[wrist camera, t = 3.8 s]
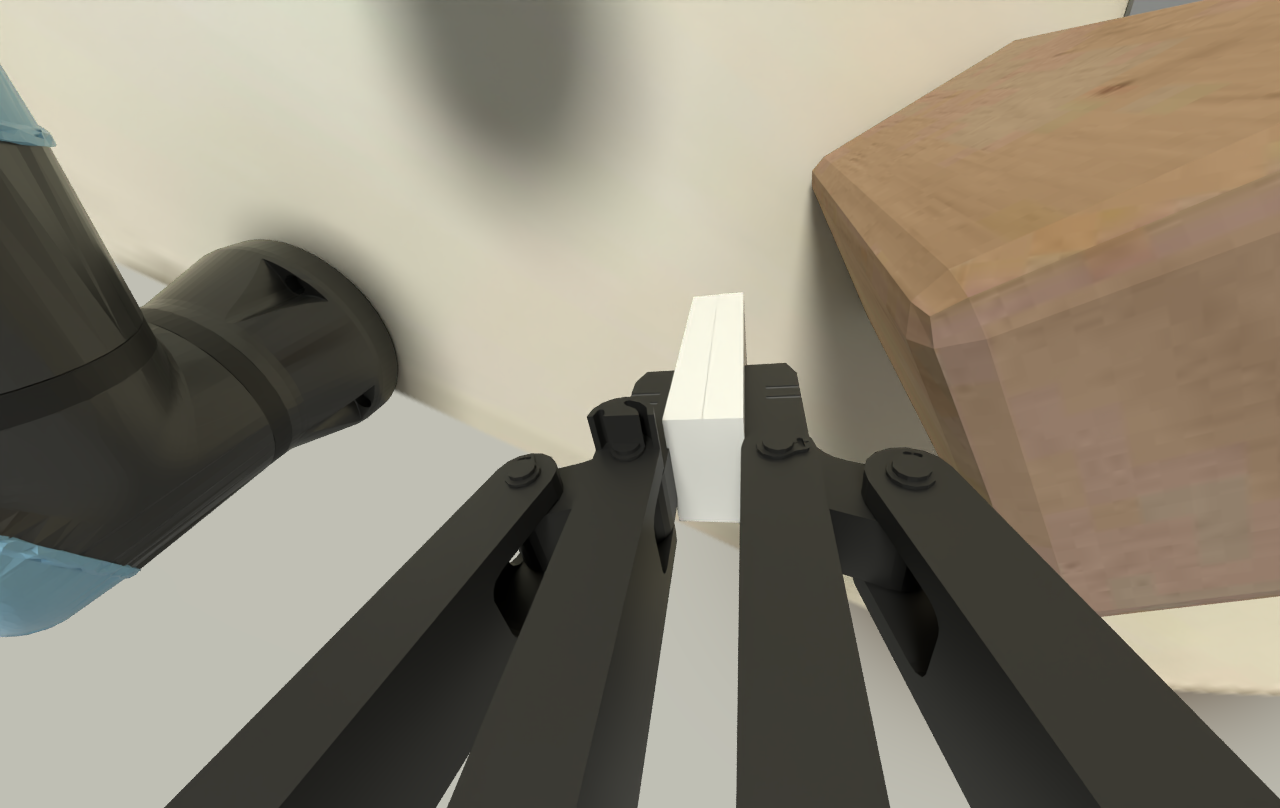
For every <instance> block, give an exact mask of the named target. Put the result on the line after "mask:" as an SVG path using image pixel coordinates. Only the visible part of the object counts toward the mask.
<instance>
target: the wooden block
mask: <svg viewBox="0 0 1280 808" xmlns="http://www.w3.org/2000/svg"><path fill="white" fill-rule="evenodd" d="M812 188H813V191H814V193H815V195H816V198H817V200H818V202H819V205H820V207H821V209H822V212H823V214H824V216H825V219H826V221H827V223H828V225H829V228H830V230H831V232H832V235H833V237H834V239H835V242H836V244H837V246H838V249H839V251H840V253H841V256H842V258H843V260H844V263H845V265H846V267H847V270H848V272H849V274H850V277H851V279H852V281H853V284H854V286H855V288H856V291H857V293H858V295H859V298H860V300H861V302H862V305H863V307H864V309H865V312H866V314H867V316H868V318H869V320H870V322H871V324H872V326H873V328H874V330H875V332H876V334H877V336H878V338H879V340H880V342H881V344H882V346H883V348H884V350H885V352H886V354H887V355H888V357H889V359H890V361H891V363H892V365H893V367H894V369H895V371H896V373H897V375H898V377H899V379H900V381H901V383H902V385H903V387H904V389H905V391H906V393H907V395H908V397H909V399H910V401H911V403H912V405H913V407H914V409H915V411H916V412H917V414H918V416H919V418H920V420H921V422H922V424H923V426H924V428H925V430H926V432H927V434H928V436H929V438H930V440H931V442H932V444H933V446H934V448H935V450H936V452H937V454H938V456H939V457H940V458H941V459H943V460H944V461H945V462H947V463H948V464H949V465H951V466H952V467H953V468H954V469H955V470H956V471H957V472H958V473H959V474H960V475H961V476H962V477H963V478H964V479H965V480H966V481H967V482H968V483H969V484H970V485H971V486H972V487H973V488H974V489H975V490H976V491H977V492H978V493H979V494H980V495H981V496H982V497H983V498H984V499H985V500H986V501H987V502H988V503H989V504H990V505H991V506H992V507H993V508H994V509H995V510H996V511H997V512H998V513H999V514H1000V515H1001V516H1002V517H1003V518H1004V519H1005V520H1006V522H1007V523H1008V524H1009V525H1010V526H1011V527H1012V528H1013V529H1014V530H1015V531H1016V532H1017V533H1018V534H1019V535H1020V536H1021V537H1022V538H1023V539H1024V540H1025V541H1026V542H1027V543H1028V544H1029V545H1030V546H1031V547H1032V548H1033V549H1034V550H1035V551H1036V552H1037V553H1038V554H1039V555H1040V556H1041V557H1042V558H1043V559H1044V560H1045V561H1046V562H1047V563H1048V564H1049V565H1050V566H1051V567H1052V568H1053V569H1054V570H1055V571H1056V572H1057V573H1058V574H1059V575H1060V576H1061V577H1062V578H1063V579H1064V580H1065V581H1066V582H1067V583H1068V584H1069V585H1070V587H1071V588H1072V589H1073V590H1074V591H1075V592H1076V593H1077V594H1078V595H1079V596H1080V597H1081V598H1082V599H1083V600H1084V601H1085V602H1086V603H1087V604H1088V605H1089V606H1090V607H1091V608H1092V609H1093V610H1094V611H1095V612H1096V613H1097V614H1098V615H1099V616H1100V617H1103V616H1111V615H1120V614H1129V613H1137V612H1146V611H1155V610H1164V609H1172V608H1181V607H1190V606H1198V605H1207V604H1216V603H1224V602H1233V601H1242V600H1250V599H1259V598H1268V597H1277V596H1280V0H1202V1H1198V2H1193V3H1188V4H1183V5H1179V6H1174V7H1169V8H1165V9H1160V10H1155V11H1150V12H1146V13H1141V14H1136V15H1132V16H1127V17H1122V18H1117V19H1113V20H1108V21H1103V22H1099V23H1094V24H1089V25H1084V26H1080V27H1075V28H1070V29H1066V30H1061V31H1056V32H1051V33H1047V34H1042V35H1037V36H1033V37H1028V38H1024V39H1020V40H1015V41H1013V42H1012V43H1010V44H1008V45H1007V46H1005V47H1003V48H1002V49H1000V50H999V51H997V52H995V53H994V54H992V55H990V56H989V57H987V58H985V59H984V60H982V61H981V62H979V63H977V64H976V65H974V66H972V67H971V68H969V69H967V70H966V71H964V72H962V73H961V74H959V75H958V76H956V77H954V78H953V79H951V80H949V81H948V82H946V83H944V84H943V85H941V86H940V87H938V88H936V89H935V90H933V91H931V92H930V93H928V94H926V95H925V96H923V97H921V98H920V99H918V100H917V101H915V102H913V103H912V104H910V105H908V106H907V107H905V108H903V109H902V110H900V111H899V112H897V113H895V114H894V115H892V116H890V117H889V118H887V119H885V120H884V121H882V122H881V123H879V124H877V125H876V126H874V127H872V128H871V129H869V130H867V131H866V132H864V133H862V134H861V135H859V136H858V137H856V138H854V139H853V140H851V141H849V142H848V143H846V144H844V145H843V146H841V147H840V148H838V149H836V150H835V151H833V152H831V153H830V154H828V155H826V156H825V157H824V158H823V159H822V160H821V161H820V162H819V164H818V165H817V166H816V167H815V168H814V170H813V171H812Z"/></svg>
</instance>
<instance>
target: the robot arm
mask: <svg viewBox="0 0 1280 808" xmlns="http://www.w3.org/2000/svg"><path fill="white" fill-rule="evenodd" d="M54 146H56V143H55V141H54V139H53V137H52V136H51V134H50V133H49V132H48V131H47V130H45V129H44V128H42V127H41V126H39V125H38V124H37V123H36V121H35V119H34V118H33V116H32V115H31V113H30V111H29V110H28V108H27V107H26V105H25V103H24V102H23V100H22V98H21V97H20V95H19V94H18V92H17V90H16V89H15V87H14V86H13V84H12V82H11V81H10V79H9V78H8V76H7V74H6V73H5V71H4V69H3V68H2V66H1V65H0V637H10V636H22V635H29V634H32V633H35V632H39V631H42V630H46V629H49V628H51V627H53V626H55V625H57V624H59V623H61V622H63V621H65V620H67V619H68V618H70V617H71V616H72V615H74V614H75V613H77V612H78V611H80V610H81V609H82V608H84V607H85V606H87V605H88V604H90V603H91V602H92V601H94V600H95V599H96V598H98V597H99V596H101V595H102V594H104V593H105V592H106V591H108V590H109V589H111V588H112V587H114V586H115V585H116V584H118V583H119V582H121V581H122V580H123V579H125V578H130V577H132V576H134V575H136V574H137V573H138V571H140V569H141V568H142V567H143V566H145V565H146V564H147V563H148V562H150V561H151V560H152V559H153V558H155V557H156V556H157V555H158V554H159V553H161V552H162V551H163V550H165V549H166V548H167V547H168V546H170V545H171V544H172V543H173V542H175V541H176V540H177V539H178V538H179V537H181V536H182V535H183V534H184V533H186V532H187V531H188V530H190V529H191V528H192V527H193V526H194V525H196V524H197V523H198V522H199V521H201V520H202V519H203V518H204V517H206V516H207V515H208V514H209V513H211V512H212V511H213V510H214V509H216V508H217V507H218V506H219V505H221V504H222V503H223V502H224V501H225V500H227V499H228V498H229V497H230V496H232V495H233V494H234V493H236V492H237V491H238V490H239V489H241V488H242V487H243V486H244V485H246V484H247V483H248V482H249V481H250V480H252V479H253V478H254V477H255V476H257V475H258V474H259V473H260V472H262V471H263V470H264V469H265V468H266V467H268V466H269V465H270V464H271V463H273V462H274V461H275V460H277V459H278V458H279V457H281V456H282V455H283V454H285V453H286V452H287V451H289V450H290V449H292V448H294V447H297V446H299V445H302V444H305V443H307V442H310V441H313V440H315V439H318V438H321V437H323V436H326V435H329V434H331V433H334V432H337V431H339V430H342V429H345V428H347V427H350V426H352V425H355V424H358V423H360V422H361V421H363V420H365V419H366V418H368V417H369V416H370V415H371V414H372V413H374V412H375V411H376V410H377V409H379V408H380V407H381V406H382V405H383V404H384V403H385V402H386V401H387V400H388V399H389V398H390V396H391V395H392V393H393V391H394V389H395V386H396V382H397V374H398V367H397V359H396V354H395V350H394V347H393V344H392V341H391V338H390V336H389V334H388V332H387V329H386V328H385V326H384V324H383V322H382V320H381V319H380V317H379V315H378V314H377V313H376V311H375V310H374V308H373V307H372V306H371V304H370V303H369V302H368V300H367V299H366V298H365V297H364V296H363V294H362V293H361V292H360V291H359V290H358V289H357V288H356V287H355V286H354V285H353V284H352V283H351V282H350V281H349V280H348V279H346V278H345V277H344V276H343V275H342V274H341V273H339V272H338V271H337V270H336V269H334V268H333V267H331V266H330V265H329V264H327V263H326V262H324V261H323V260H321V259H319V258H318V257H316V256H314V255H312V254H310V253H308V252H306V251H304V250H302V249H300V248H297V247H295V246H292V245H289V244H286V243H282V242H278V241H272V240H249V241H244V242H241V243H237V244H234V245H230V246H227V247H224V248H220V249H217V250H215V251H213V252H211V253H209V254H207V255H205V256H203V257H202V258H201V259H199V260H198V261H197V262H196V263H195V264H193V265H192V266H191V267H190V268H189V269H187V270H186V271H185V272H184V273H183V274H181V275H180V276H179V277H178V278H176V279H175V280H174V281H173V282H172V283H170V284H169V285H168V286H167V287H166V288H164V289H163V290H162V291H161V292H160V293H159V294H157V295H156V296H155V297H154V298H152V299H151V300H150V301H149V302H148V303H146V304H145V305H144V306H142V307H139V306H138V304H137V302H136V300H135V299H134V297H133V295H132V293H131V291H130V290H129V288H128V286H127V284H126V283H125V281H124V279H123V277H122V275H121V274H120V272H119V270H118V268H117V266H116V265H115V263H114V261H113V259H112V257H111V256H110V254H109V252H108V250H107V248H106V247H105V245H104V243H103V241H102V240H101V238H100V236H99V234H98V232H97V231H96V229H95V227H94V225H93V223H92V222H91V220H90V218H89V216H88V214H87V213H86V211H85V209H84V207H83V206H82V204H81V202H80V200H79V198H78V197H77V195H76V193H75V191H74V189H73V188H72V186H71V184H70V182H69V180H68V179H67V177H66V175H65V173H64V172H63V170H62V168H61V166H60V164H59V163H58V161H57V159H56V157H55V155H54V154H53V152H52V150H51V148H50V147H54ZM587 419H588V423H589V426H590V430H591V434H592V437H593V441H594V444H595V448H596V452H595V454H594V456H593V459H591V460H589V461H586V462H583V463H580V464H576V465H571V466H567V467H563V468H558V467H557V464H556V462H555V461H554V460H553V459H552V457H550V456H547V455H545V454H533V453H531V454H527V455H523V456H519V457H517V458H515V459H513V460H510V461H508V462H507V463H506V464H504V465H503V466H502V467H501V468H499V469H498V470H497V471H496V472H495V473H494V474H493V475H492V476H491V477H490V478H489V479H488V480H487V481H486V482H485V483H484V484H483V485H482V486H481V487H480V488H479V489H478V490H477V491H476V492H475V493H474V494H473V495H472V496H471V497H470V498H469V499H468V500H467V501H466V502H465V504H463V505H462V506H461V507H460V508H459V510H457V511H456V512H455V513H454V515H452V517H451V518H450V519H449V520H448V521H447V522H446V523H445V524H444V525H443V526H442V527H441V528H440V529H439V530H438V531H437V532H436V533H435V534H434V535H433V536H432V537H431V538H430V539H429V540H428V541H427V542H426V543H425V544H424V545H423V546H422V547H421V548H420V549H419V550H418V551H417V552H416V553H415V554H414V555H413V556H412V557H411V558H410V559H409V560H408V561H407V562H406V563H405V564H404V565H403V566H402V567H401V568H400V569H399V570H398V571H397V572H396V573H395V574H394V575H393V576H392V577H391V578H390V579H389V580H388V581H387V582H386V583H385V585H384V586H383V587H381V588H380V589H379V591H378V592H377V593H376V594H375V595H374V596H373V597H372V598H371V599H370V600H369V601H368V602H367V603H366V604H365V605H364V606H363V607H362V608H361V609H360V610H359V611H358V612H357V613H356V614H355V615H354V616H353V617H352V618H351V619H350V620H349V621H348V622H347V623H346V624H345V625H344V626H343V627H342V628H341V629H340V630H339V631H338V632H337V633H336V634H335V635H334V636H333V637H332V638H331V639H330V640H329V641H328V642H327V643H326V644H325V645H324V646H323V647H322V648H321V649H320V650H319V651H318V653H316V654H315V655H314V656H313V657H312V658H311V659H310V660H309V662H308V663H306V664H305V666H304V667H303V668H302V669H301V670H300V671H299V672H298V673H297V674H296V675H295V676H294V677H293V678H292V679H291V680H290V681H289V682H288V683H287V684H286V685H285V686H284V687H283V688H282V689H281V690H280V691H279V692H278V693H277V694H276V695H275V696H274V697H273V698H272V699H271V700H270V701H269V702H268V703H267V704H266V705H265V706H264V707H263V708H262V709H261V710H260V711H259V712H258V713H257V714H256V715H255V716H254V717H253V718H252V719H251V720H250V721H249V722H248V723H247V724H246V725H245V726H244V727H243V728H242V729H241V731H239V732H238V733H237V734H236V735H235V737H234V738H233V739H232V740H231V741H230V742H229V743H228V744H227V745H226V746H225V747H224V748H223V749H222V750H221V751H220V752H219V753H218V754H217V755H216V756H215V757H214V758H213V759H212V760H211V761H210V762H209V763H208V764H207V765H206V766H205V767H204V768H203V769H202V770H201V771H200V772H199V773H198V774H197V775H196V776H195V777H194V778H193V779H192V780H191V781H190V782H189V783H188V784H187V785H186V786H185V787H184V788H183V789H182V790H181V791H180V792H179V793H178V794H177V795H176V796H175V797H174V798H173V799H172V800H171V802H169V803H168V804H167V806H166V807H164V808H436V806H437V805H438V803H439V802H440V800H441V798H442V797H443V795H444V794H445V792H446V790H447V789H448V787H449V786H450V784H451V782H452V781H453V779H454V777H455V776H456V774H457V772H458V771H459V769H460V768H461V766H462V764H463V763H464V761H465V759H466V758H467V756H468V755H469V756H468V759H467V761H466V764H465V766H464V768H463V771H462V773H461V776H460V778H459V780H458V783H457V785H456V788H455V790H454V792H453V795H452V797H451V800H450V802H449V804H448V807H447V808H637V806H638V800H639V793H640V786H641V779H642V773H643V766H644V759H645V752H646V745H647V739H648V732H649V725H650V719H651V712H652V705H653V698H654V692H655V685H656V678H657V671H658V665H659V658H660V650H661V644H662V637H663V631H664V624H665V617H666V610H667V603H668V597H669V589H670V584H671V577H672V570H673V563H674V557H675V550H676V543H677V538H676V530H675V524H674V520H675V514H676V508H677V510H678V516H679V521H701V522H737V523H740V561H739V562H740V563H739V564H740V565H739V638H738V716H737V717H738V718H737V719H738V720H737V722H738V723H737V724H738V725H737V794H736V795H737V796H736V808H890V805H889V800H888V795H887V790H886V785H885V780H884V775H883V771H882V765H881V761H880V756H879V751H878V746H877V741H876V737H875V731H874V726H873V721H872V716H871V712H870V707H869V702H868V697H867V692H866V687H865V682H864V677H863V672H862V668H861V663H860V658H859V653H858V648H857V643H856V638H855V633H854V628H853V623H852V619H851V614H850V609H849V604H848V599H847V594H846V589H845V584H844V579H843V574H844V575H847V576H850V577H853V580H854V584H855V586H856V588H857V590H858V592H859V594H860V595H861V597H862V599H863V601H864V603H865V605H866V607H867V609H868V611H869V613H870V615H871V617H872V618H873V620H874V622H875V624H876V626H877V628H878V630H879V632H880V634H881V636H882V638H883V640H884V641H885V643H886V645H887V647H888V649H889V651H890V653H891V655H892V657H893V659H894V661H895V663H896V665H897V666H898V668H899V670H900V672H901V674H902V676H903V678H904V680H905V682H906V684H907V686H908V688H909V690H910V692H911V693H912V695H913V697H914V699H915V701H916V703H917V705H918V707H919V709H920V711H921V713H922V715H923V716H924V719H925V720H926V722H927V724H928V726H929V728H930V730H931V732H932V734H933V736H934V738H935V740H936V742H937V744H938V745H939V747H940V749H941V751H942V753H943V755H944V757H945V759H946V761H947V763H948V765H949V767H950V768H951V770H952V772H953V774H954V776H955V778H956V780H957V782H958V784H959V786H960V788H961V790H962V792H963V793H964V795H965V797H966V799H967V801H968V803H969V805H970V807H971V808H1280V799H1279V798H1278V797H1277V796H1276V795H1275V794H1274V793H1273V792H1272V791H1271V790H1270V789H1269V788H1268V787H1267V786H1266V785H1265V784H1264V783H1263V782H1262V781H1261V779H1259V777H1258V776H1257V775H1256V774H1255V773H1254V772H1253V771H1252V770H1250V768H1249V767H1248V766H1247V765H1246V764H1245V763H1244V762H1243V761H1242V760H1241V759H1240V758H1239V757H1238V756H1237V755H1236V754H1235V753H1234V752H1233V751H1232V750H1231V749H1230V748H1229V747H1228V746H1227V745H1226V744H1225V743H1224V742H1223V741H1222V740H1221V739H1220V738H1219V737H1218V736H1217V735H1216V734H1215V733H1214V732H1213V731H1212V730H1211V729H1210V728H1209V727H1208V726H1207V725H1206V724H1205V723H1204V722H1203V721H1202V720H1201V719H1200V718H1199V717H1198V716H1197V715H1196V713H1195V712H1194V711H1193V710H1192V709H1191V708H1190V707H1189V706H1188V705H1187V704H1186V703H1185V702H1184V701H1183V700H1182V699H1181V698H1180V697H1179V696H1178V695H1177V694H1176V693H1175V692H1174V691H1173V690H1172V689H1171V688H1170V687H1169V686H1168V685H1167V684H1166V683H1165V682H1164V681H1163V680H1162V679H1161V678H1160V677H1159V676H1158V675H1157V674H1156V673H1155V672H1154V671H1153V670H1152V669H1151V668H1150V667H1149V666H1148V665H1147V664H1146V663H1145V662H1144V661H1143V660H1142V659H1141V658H1140V657H1139V656H1138V655H1137V654H1136V653H1135V652H1134V650H1133V649H1132V648H1131V647H1130V646H1129V645H1128V644H1127V643H1126V642H1125V641H1124V640H1123V639H1122V638H1121V637H1120V636H1119V635H1118V634H1117V633H1116V632H1115V631H1114V630H1113V629H1112V628H1111V627H1110V626H1109V625H1108V624H1107V623H1106V622H1105V621H1104V620H1103V619H1102V618H1101V617H1100V616H1099V615H1098V614H1097V613H1096V612H1095V611H1094V610H1093V609H1092V608H1091V607H1090V606H1089V605H1088V604H1087V603H1086V602H1085V601H1084V600H1083V599H1082V598H1081V597H1080V596H1079V595H1078V594H1077V593H1076V592H1075V591H1074V590H1073V589H1072V588H1071V587H1070V585H1069V584H1068V583H1067V582H1066V581H1065V580H1064V579H1063V578H1062V577H1061V576H1060V575H1059V574H1058V573H1057V572H1056V571H1055V570H1054V569H1053V568H1052V567H1051V566H1050V565H1049V564H1048V563H1047V562H1046V561H1045V560H1044V559H1043V558H1042V557H1041V556H1040V555H1039V554H1038V553H1037V552H1036V551H1035V550H1034V549H1033V548H1032V547H1031V546H1030V545H1029V544H1028V543H1027V542H1026V541H1025V540H1024V539H1023V538H1022V537H1021V536H1020V535H1019V534H1018V533H1017V532H1016V531H1015V530H1014V529H1013V528H1012V527H1011V526H1010V525H1009V524H1008V523H1007V522H1006V520H1005V519H1004V518H1003V517H1002V516H1001V515H1000V514H999V513H998V512H997V511H996V510H995V509H994V508H993V507H992V506H991V505H990V504H989V503H988V502H987V501H986V500H985V499H984V498H983V497H982V496H981V495H980V494H979V493H978V492H977V491H976V490H975V489H974V488H973V487H972V486H971V485H970V484H969V483H968V482H967V481H966V480H965V479H964V478H963V477H962V476H961V475H960V474H959V473H958V472H957V471H956V470H955V469H954V468H953V467H952V466H951V465H949V464H948V463H947V462H945V461H944V460H943V459H941V458H940V457H937V456H935V455H933V454H930V453H928V452H925V451H922V450H916V449H911V448H888V449H885V450H881V451H878V452H875V453H874V454H873V455H872V456H870V457H869V458H868V459H867V461H866V464H861V463H856V462H851V461H846V460H843V459H839V458H835V457H833V456H831V455H829V454H826V453H824V452H823V451H821V450H820V449H819V448H817V447H816V445H815V443H814V442H813V440H812V438H810V437H809V434H808V429H807V424H806V419H805V414H804V408H803V403H802V398H801V393H800V388H799V383H798V377H797V373H796V372H795V371H794V370H793V369H792V368H791V367H790V366H789V365H787V364H786V363H776V364H759V365H747V357H746V336H745V315H744V293H743V292H739V293H728V294H718V295H707V296H697V297H693V301H692V305H691V309H690V313H689V317H688V321H687V325H686V329H685V332H684V336H683V340H682V344H681V348H680V352H679V356H678V360H677V364H676V368H675V371H659V372H647V373H646V374H645V375H644V376H642V377H641V378H640V379H639V380H638V381H637V382H636V383H635V386H634V389H633V391H632V396H631V397H622V398H616V399H612V400H609V401H607V402H604V403H602V404H600V405H599V406H597V407H595V408H594V409H593V410H592V411H591V412H590V413H589V415H588V416H587ZM518 549H519V552H520V554H519V555H518V556H517V557H516V558H515V559H514V560H513V561H512V562H510V563H509V561H510V560H511V558H512V557H513V556H514V555H515V553H516V552H517V551H518ZM469 753H470V754H469Z"/></svg>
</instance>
